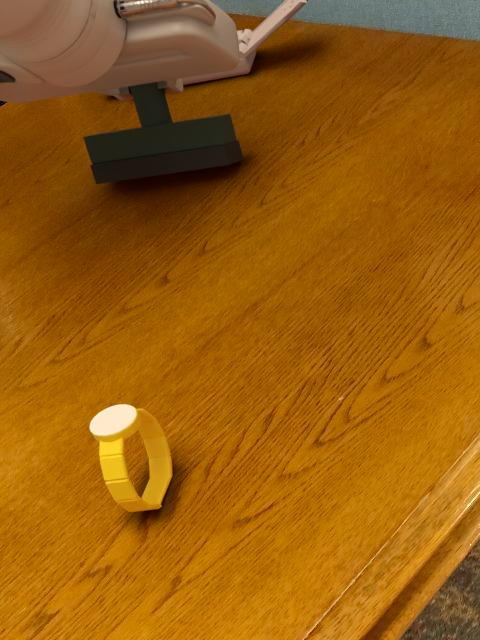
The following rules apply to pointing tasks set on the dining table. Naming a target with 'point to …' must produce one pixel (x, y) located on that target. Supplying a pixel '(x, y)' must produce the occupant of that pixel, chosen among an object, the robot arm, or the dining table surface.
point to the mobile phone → (253, 41)
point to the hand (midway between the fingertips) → (152, 87)
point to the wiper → (161, 142)
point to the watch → (111, 435)
